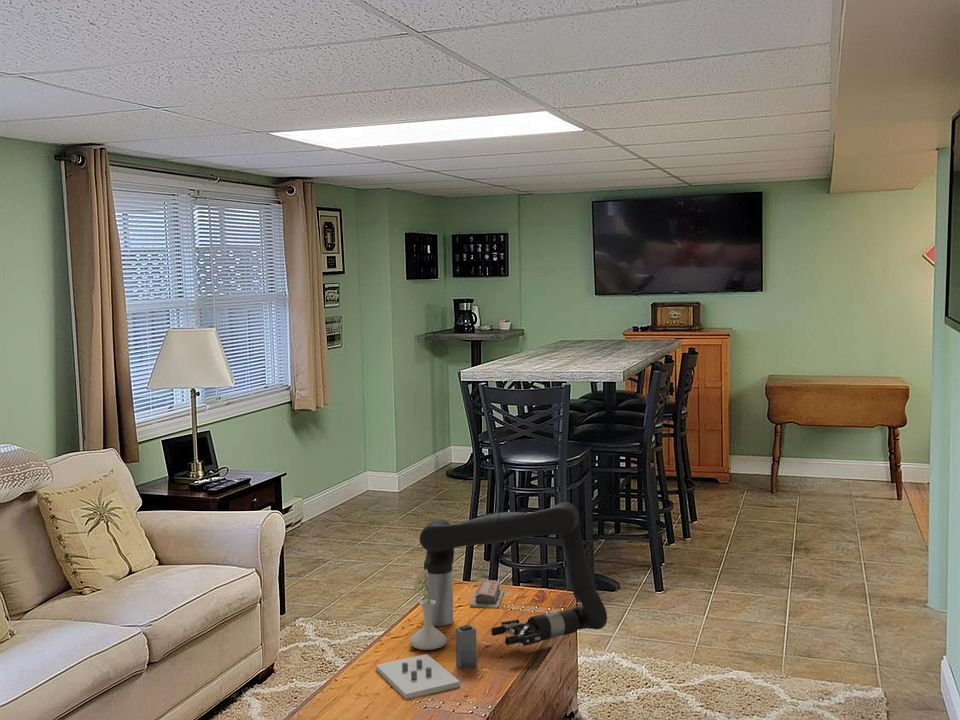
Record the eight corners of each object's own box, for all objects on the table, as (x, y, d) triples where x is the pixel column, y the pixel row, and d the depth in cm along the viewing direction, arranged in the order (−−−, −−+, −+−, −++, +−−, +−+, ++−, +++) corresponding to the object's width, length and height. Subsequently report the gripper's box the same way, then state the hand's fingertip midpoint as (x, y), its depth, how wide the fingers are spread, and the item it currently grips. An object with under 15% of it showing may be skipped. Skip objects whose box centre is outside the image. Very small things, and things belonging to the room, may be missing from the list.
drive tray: (375, 669, 270) (375, 658, 270) (427, 659, 278) (426, 647, 277) (405, 699, 251) (405, 686, 251) (459, 686, 258) (459, 674, 258)
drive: (456, 665, 273) (455, 626, 272) (471, 661, 275) (471, 623, 274) (461, 669, 270) (460, 630, 269) (476, 665, 272) (476, 627, 271)
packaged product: (476, 578, 339) (504, 579, 337) (477, 591, 339) (504, 592, 338) (469, 594, 321) (498, 595, 319) (469, 608, 321) (498, 609, 320)
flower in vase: (411, 639, 293) (409, 560, 291) (448, 639, 293) (446, 560, 291) (407, 655, 280) (405, 573, 278) (445, 655, 280) (443, 573, 278)
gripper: (533, 607, 290) (487, 616, 283) (558, 621, 278) (510, 632, 270) (534, 631, 291) (487, 641, 283) (558, 646, 278) (510, 657, 271)
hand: (498, 636), depth 277 cm, fingers open, 8 cm apart
